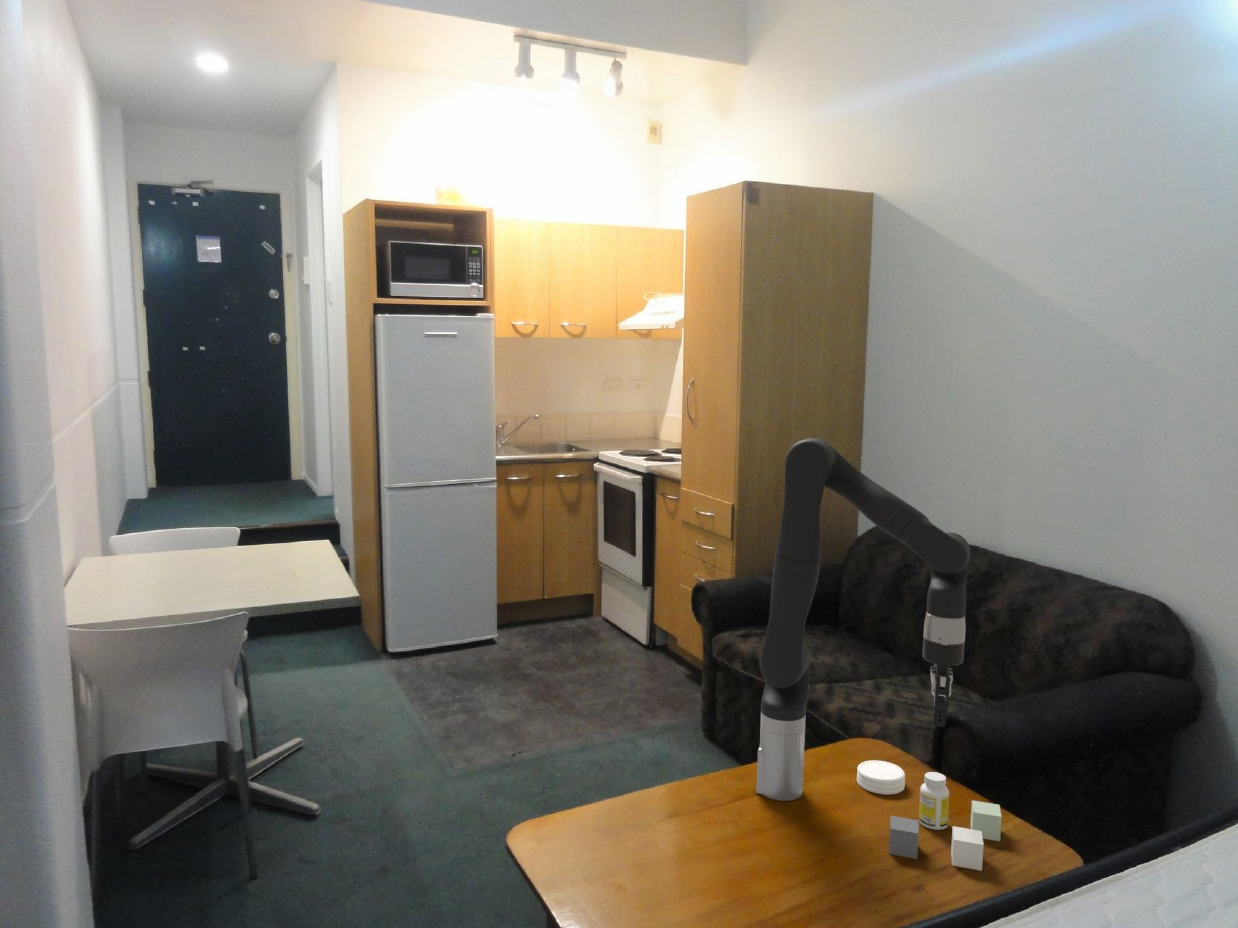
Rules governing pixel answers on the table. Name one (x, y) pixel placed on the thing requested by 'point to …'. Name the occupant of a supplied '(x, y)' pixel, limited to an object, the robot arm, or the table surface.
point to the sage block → (986, 819)
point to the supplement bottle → (934, 801)
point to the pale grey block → (967, 848)
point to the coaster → (881, 777)
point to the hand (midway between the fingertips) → (938, 717)
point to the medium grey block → (903, 837)
